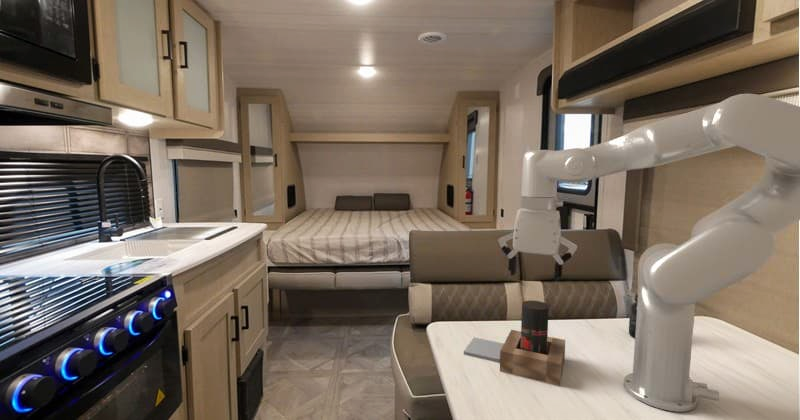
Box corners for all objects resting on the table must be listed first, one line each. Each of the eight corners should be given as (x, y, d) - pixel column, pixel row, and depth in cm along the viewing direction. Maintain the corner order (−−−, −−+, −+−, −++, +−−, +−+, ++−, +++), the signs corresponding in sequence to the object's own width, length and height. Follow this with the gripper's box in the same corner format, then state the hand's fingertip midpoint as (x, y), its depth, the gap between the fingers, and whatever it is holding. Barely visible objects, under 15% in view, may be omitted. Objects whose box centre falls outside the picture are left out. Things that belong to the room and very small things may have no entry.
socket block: (564, 359, 92) (565, 339, 92) (560, 386, 81) (561, 364, 80) (510, 347, 98) (511, 329, 98) (499, 371, 87) (500, 350, 86)
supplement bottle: (662, 343, 100) (665, 300, 99) (634, 341, 102) (637, 298, 100) (650, 332, 107) (653, 292, 106) (624, 330, 108) (627, 290, 107)
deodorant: (550, 371, 86) (552, 309, 85) (524, 371, 87) (526, 309, 85) (541, 359, 92) (543, 300, 91) (517, 358, 92) (518, 300, 91)
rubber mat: (507, 347, 99) (507, 344, 99) (499, 362, 91) (499, 359, 91) (473, 340, 103) (473, 337, 103) (463, 354, 95) (463, 351, 95)
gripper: (580, 205, 85) (575, 278, 87) (503, 201, 93) (500, 268, 95) (579, 208, 78) (574, 287, 80) (496, 203, 86) (493, 275, 88)
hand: (534, 276), depth 87 cm, fingers open, 9 cm apart
